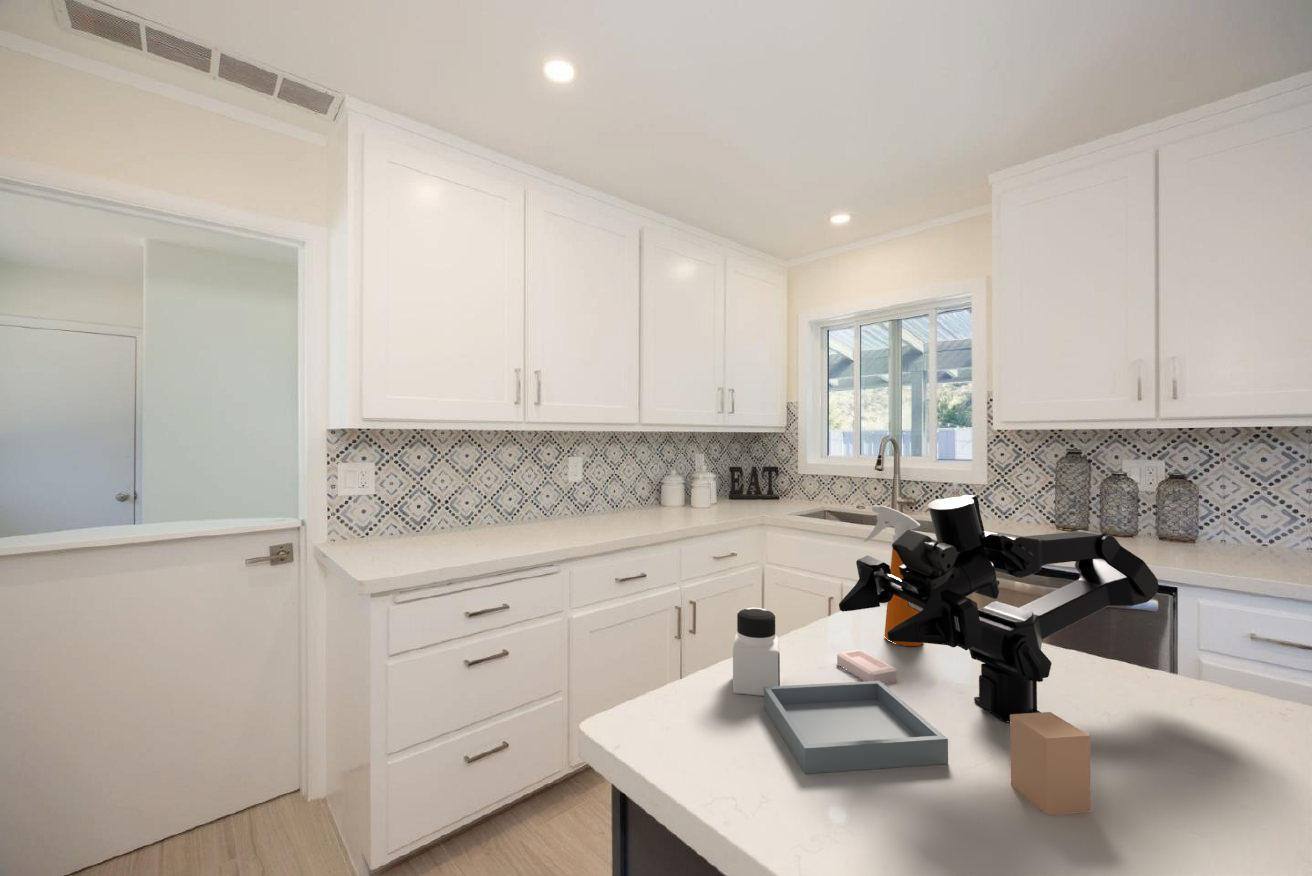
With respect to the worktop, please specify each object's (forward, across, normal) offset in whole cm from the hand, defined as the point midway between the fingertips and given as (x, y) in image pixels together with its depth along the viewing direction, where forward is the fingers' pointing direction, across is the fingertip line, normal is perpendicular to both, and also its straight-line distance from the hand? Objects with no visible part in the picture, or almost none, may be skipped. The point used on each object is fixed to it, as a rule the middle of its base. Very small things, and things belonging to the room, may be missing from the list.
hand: (862, 621), depth 70 cm
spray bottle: (-24, -26, +27) cm, 44 cm away
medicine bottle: (+10, -17, +15) cm, 25 cm away
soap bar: (-9, -15, +21) cm, 28 cm away
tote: (+5, -1, +15) cm, 16 cm away
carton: (-7, +18, +16) cm, 25 cm away
